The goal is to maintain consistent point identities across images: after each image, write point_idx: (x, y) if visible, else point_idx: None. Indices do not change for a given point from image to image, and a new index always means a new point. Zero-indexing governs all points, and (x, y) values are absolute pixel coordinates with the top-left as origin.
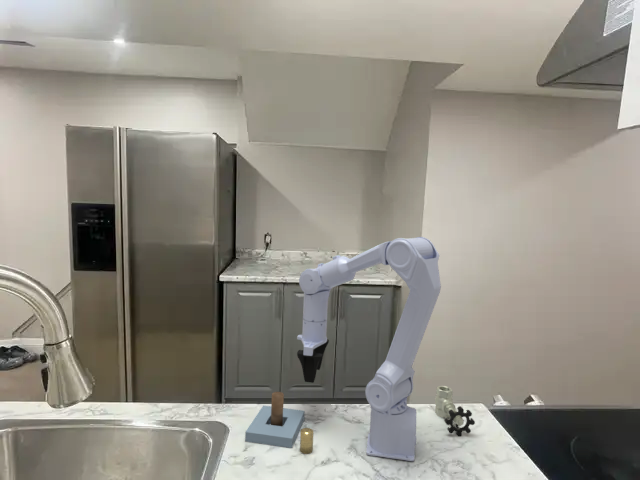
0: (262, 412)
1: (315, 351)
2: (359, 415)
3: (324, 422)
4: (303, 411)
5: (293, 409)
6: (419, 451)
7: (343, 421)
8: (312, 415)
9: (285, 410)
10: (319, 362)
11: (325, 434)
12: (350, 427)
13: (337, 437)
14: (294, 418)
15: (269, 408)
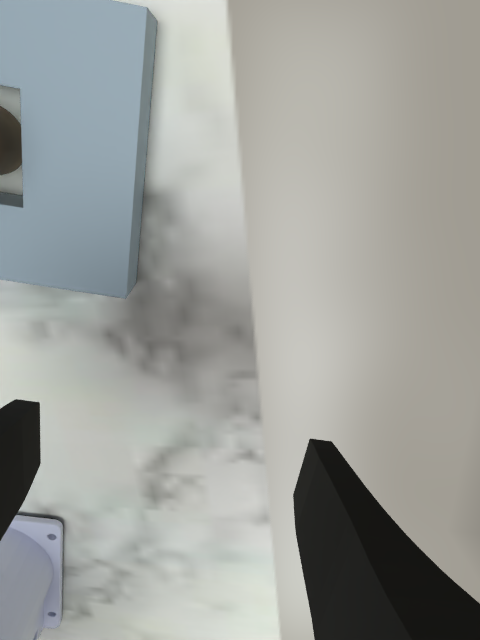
0: (42, 18)
1: (348, 637)
2: (208, 499)
3: (123, 372)
4: (114, 293)
5: (128, 234)
6: None
7: (147, 444)
8: (181, 319)
9: (106, 185)
10: (307, 551)
11: (21, 376)
12: (103, 465)
13: None
14: (23, 248)
15: (110, 67)
